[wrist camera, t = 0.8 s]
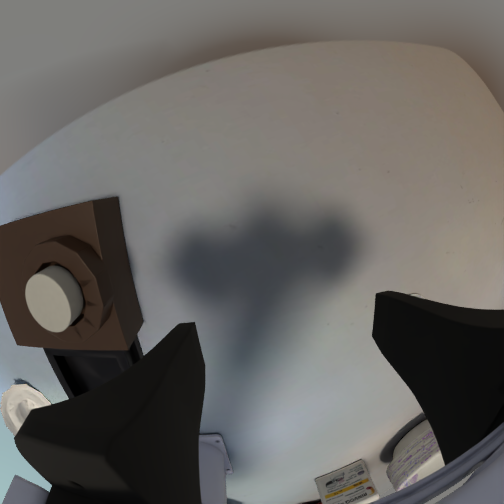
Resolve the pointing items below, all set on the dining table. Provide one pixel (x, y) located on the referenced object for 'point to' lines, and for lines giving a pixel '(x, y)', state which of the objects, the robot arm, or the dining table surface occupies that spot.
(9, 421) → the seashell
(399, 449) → the paper bowls
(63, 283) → the button
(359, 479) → the container
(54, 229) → the brown push button box
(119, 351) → the pan
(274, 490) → the dining table surface
